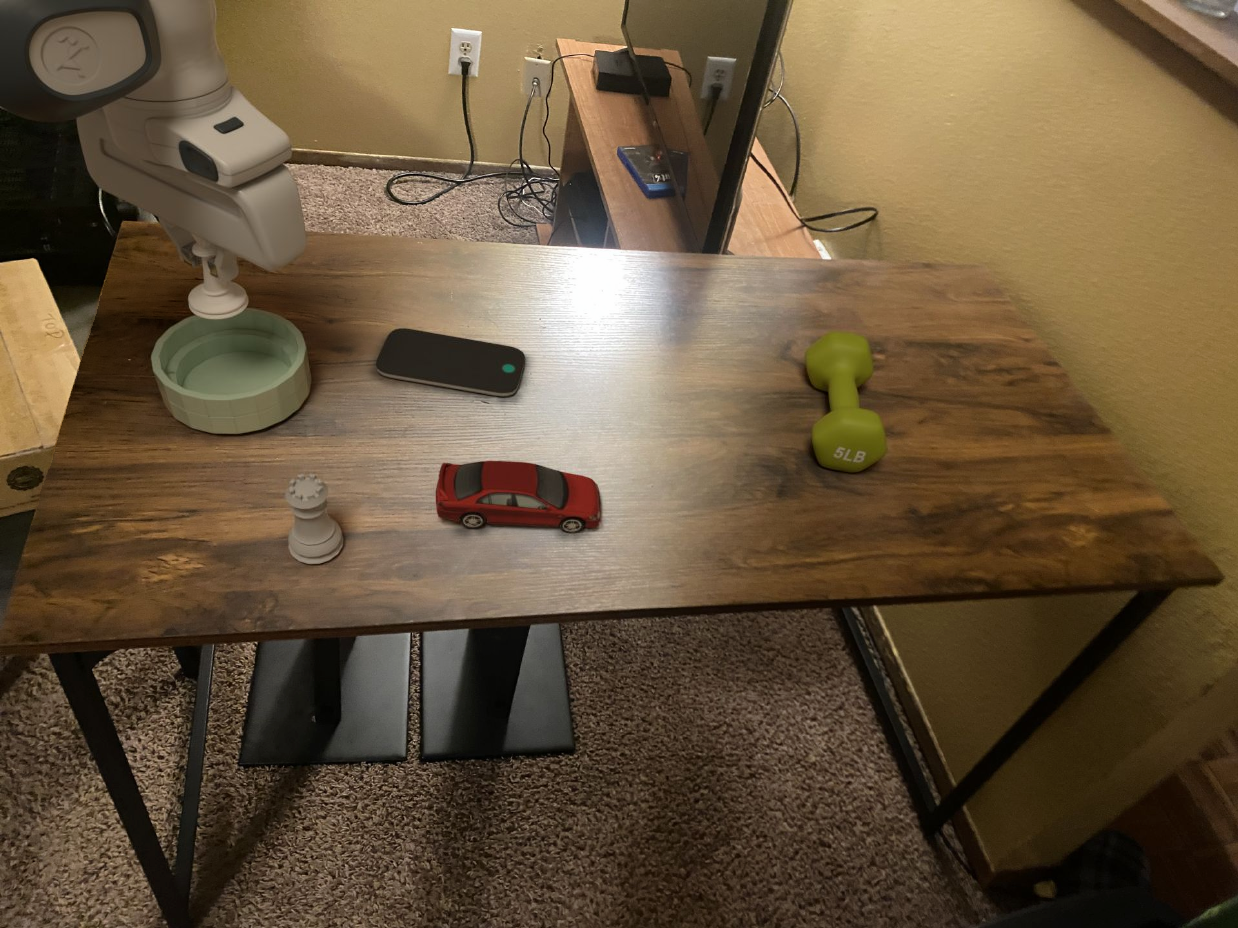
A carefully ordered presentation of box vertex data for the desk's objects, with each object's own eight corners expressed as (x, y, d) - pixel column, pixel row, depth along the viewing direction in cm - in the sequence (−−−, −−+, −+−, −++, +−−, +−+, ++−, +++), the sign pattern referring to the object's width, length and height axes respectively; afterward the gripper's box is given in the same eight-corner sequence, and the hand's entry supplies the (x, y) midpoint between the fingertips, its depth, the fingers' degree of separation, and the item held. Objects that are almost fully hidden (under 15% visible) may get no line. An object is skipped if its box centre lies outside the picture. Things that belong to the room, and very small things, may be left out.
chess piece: (237, 323, 74) (214, 223, 66) (180, 315, 73) (150, 214, 66) (256, 290, 77) (235, 191, 70) (200, 283, 76) (174, 182, 69)
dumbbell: (874, 484, 87) (902, 435, 82) (800, 470, 87) (823, 420, 82) (861, 382, 98) (884, 334, 93) (795, 369, 98) (814, 320, 93)
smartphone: (515, 394, 87) (371, 369, 86) (515, 400, 87) (372, 375, 87) (527, 348, 92) (391, 324, 91) (527, 354, 92) (392, 331, 92)
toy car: (441, 481, 79) (440, 445, 75) (599, 496, 80) (606, 461, 77) (432, 527, 75) (431, 491, 71) (598, 542, 76) (605, 507, 73)
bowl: (173, 451, 76) (159, 412, 73) (157, 358, 84) (144, 318, 80) (324, 422, 81) (318, 384, 78) (297, 337, 89) (290, 299, 85)
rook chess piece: (286, 530, 72) (272, 469, 66) (340, 521, 74) (331, 460, 68) (292, 572, 70) (277, 511, 64) (347, 561, 71) (338, 501, 65)
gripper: (33, 80, 63) (90, 240, 73) (244, 177, 58) (274, 333, 68) (106, 57, 67) (150, 211, 77) (308, 145, 62) (327, 297, 72)
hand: (210, 269), depth 72 cm, fingers closed on chess piece
